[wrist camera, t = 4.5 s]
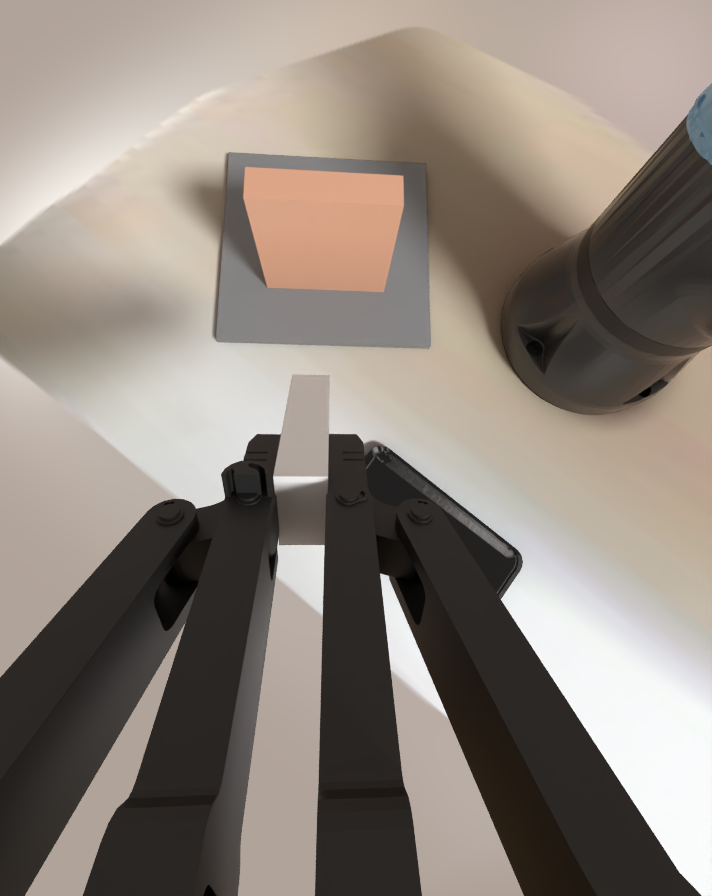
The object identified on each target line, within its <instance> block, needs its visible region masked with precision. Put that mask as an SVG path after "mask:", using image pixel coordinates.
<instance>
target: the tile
mask: <svg viewBox="0 0 712 896" xmlns="http://www.w3.org/2000/svg"><path fill="white" fill-rule="evenodd" d="M243 199H244V202H245V206H246V210H247V213H248V217H249V221H250V225H251V228H252V232H253V236H254V240H255V243H256V247H257V251H258V255H259V258H260V262H261V266H262V270H263V273H264V277H265V281H266V285H267V288H288V289H313V290H339V291H365V292H384V289H385V285H386V281H387V276H388V272H389V268H390V264H391V259H392V255H393V251H394V246H395V242H396V238H397V233H398V229H399V225H400V220H401V216H402V212H403V207H404V184H403V176H400V175H382V174H364V173H346V172H329V171H311V170H293V169H275V168H257V167H245V178H244V194H243Z"/></svg>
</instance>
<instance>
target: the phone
mask: <svg viewBox="0 0 712 896" xmlns="http://www.w3.org/2000/svg"><path fill="white" fill-rule="evenodd" d="M365 464H366V474H367V483H368V489H369V492H370V493H371V495H372V496H373V497H374V498H375V499H376V500H378V501H380V502H382V503H384V504H387V505H391V506H395V507H398V506H399V505H400V504H401V503H402V502H403V501H406V500H409V499H413V498H421V499H425V500H429V501H431V502H433V503H435V504H437V505H438V507H439V508H440V509H441V510H442V511H443V512H444V514H445V515H446V517H447V519H448V520H449V522H450V523H451V525H452V526H453V528H454V529H455V531H456V532H457V534H458V535H459V537H460V538H461V540H462V541H463V543H464V544H465V546H466V548H467V549H468V551H469V552H470V554H471V555H472V557H473V558H474V560H475V561H476V563H477V564H478V566H479V567H480V569H481V570H482V572H483V574H484V575H485V577H486V578H487V580H488V581H489V583H490V584H491V586H492V587H493V589H494V590H495V592H496V593H497V595H498V596H499V598H500V599H501V598H502V597H503V595H504V594H505V592H506V591H507V589H508V588H509V586H510V585H511V583H512V582H513V581H514V579H515V578H516V576H517V575H518V573H519V572H520V570H521V568H522V563H523V561H522V556H521V554H520V553H519V551H518V550H517V549H516V548H514V547H513V546H512V545H510V544H509V543H508V542H507V541H505V540H504V539H503V538H502V537H500V536H499V535H498V534H497V533H495V532H494V531H493V530H491V529H490V528H489V527H488V526H486V525H485V524H484V523H483V522H481V521H480V520H479V519H478V518H476V517H475V516H474V515H472V514H471V513H470V512H469V511H467V510H466V509H465V508H464V507H462V506H461V505H460V504H459V503H457V502H456V501H455V500H454V499H452V498H451V497H450V496H448V495H447V494H446V493H445V492H443V491H442V490H441V489H440V488H438V487H437V486H436V485H435V484H433V483H432V482H431V481H429V480H428V479H427V478H426V477H424V476H423V475H422V474H421V473H419V472H418V471H417V470H416V469H414V468H413V467H412V466H411V465H409V464H408V463H407V462H405V461H404V460H403V459H402V458H400V457H399V456H398V455H397V454H395V453H394V452H393V451H392V450H390V449H389V448H387V447H384V446H377V447H375V448H373V449H371V450H370V451H369V453H368V454H367V455H366V456H365Z"/></svg>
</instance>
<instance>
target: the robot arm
mask: <svg viewBox="0 0 712 896" xmlns="http://www.w3.org/2000/svg"><path fill="white" fill-rule="evenodd" d="M501 330H502V339H503V343H504V347H505V350H506V353H507V356H508V358H509V360H510V362H511V364H512V366H513V368H514V369H515V371H516V373H517V374H518V375H519V377H520V378H521V379H522V380H523V382H524V383H525V384H526V385H527V386H528V387H529V388H530V389H531V390H532V391H533V392H535V393H536V394H537V395H538V396H540V397H541V398H543V399H544V400H546V401H547V402H549V403H551V404H553V405H555V406H557V407H559V408H562V409H564V410H567V411H571V412H575V413H580V414H587V415H601V414H609V413H614V412H617V411H620V410H623V409H625V408H628V407H631V406H633V405H636V404H638V403H641V402H643V401H645V400H647V399H648V398H650V397H652V396H653V395H655V394H656V393H658V392H659V391H660V390H661V389H663V388H664V387H665V386H666V385H667V384H668V383H669V382H670V381H671V380H672V379H673V378H674V377H675V376H676V375H677V374H678V373H679V372H680V371H681V370H682V369H683V368H684V367H685V366H686V365H687V364H688V363H689V362H690V361H691V360H692V359H693V358H694V357H695V356H696V355H697V354H698V353H699V352H700V351H701V350H704V349H706V348H708V347H710V346H712V84H711V85H709V86H708V87H707V88H706V89H705V90H704V91H703V92H702V94H701V95H700V96H699V97H698V98H697V99H696V101H695V104H694V106H693V107H692V109H691V110H690V111H689V114H688V115H687V116H686V117H685V119H684V120H683V121H682V122H681V123H680V124H679V125H678V127H677V128H676V129H675V130H674V131H673V132H672V134H671V135H670V136H669V137H668V138H667V139H666V141H665V142H664V143H663V144H662V145H661V146H660V147H659V149H658V150H657V151H656V152H655V153H654V154H653V155H652V157H651V158H650V159H649V160H648V161H647V162H646V163H645V165H644V166H643V167H642V168H641V169H640V170H639V171H638V173H637V174H636V175H635V176H634V177H633V178H632V180H631V181H630V182H629V183H628V184H627V185H626V186H625V188H624V189H623V190H622V191H621V192H620V193H619V194H618V196H617V197H616V198H615V199H614V200H613V201H612V203H611V204H610V205H609V206H608V207H607V208H606V209H605V210H604V212H603V213H602V214H601V215H600V216H599V218H598V219H597V220H596V221H595V222H594V223H593V224H592V225H591V226H590V227H589V228H587V229H586V230H584V231H582V232H580V233H579V234H577V235H575V236H573V237H571V238H570V239H568V240H566V241H565V242H563V243H561V244H560V245H558V246H556V247H555V248H552V249H550V250H548V251H547V252H545V253H544V254H542V255H541V256H539V257H538V258H537V259H536V260H535V261H533V262H532V263H531V264H530V265H529V266H528V267H527V269H526V270H525V271H524V272H523V274H522V275H521V276H520V277H519V279H518V280H517V281H516V283H515V284H514V285H513V287H512V288H511V290H510V292H509V294H508V296H507V298H506V301H505V304H504V307H503V312H502V319H501ZM329 386H330V375H292V379H291V385H290V390H289V395H288V401H287V406H286V411H285V417H284V422H283V427H282V432H281V435H276V434H257V435H256V436H255V437H254V438H253V439H252V440H251V441H250V442H249V443H248V446H247V450H246V454H245V456H244V461H239V462H236V463H234V464H231V465H230V466H228V467H227V468H225V469H224V471H223V472H222V474H221V476H222V482H223V487H224V493H225V500H224V501H222V502H220V503H217V504H214V505H211V506H207V507H203V508H198V509H196V508H195V506H194V505H193V504H192V503H191V502H189V501H187V500H184V499H171V500H167V501H163V502H161V503H159V504H157V505H155V506H153V507H152V508H151V509H150V510H149V511H147V513H146V514H145V515H144V516H143V517H142V518H141V519H140V520H139V522H138V523H137V524H136V525H135V526H134V527H133V528H132V529H131V531H130V532H129V533H128V534H127V535H126V536H125V537H124V539H123V540H122V541H121V542H120V543H119V544H118V545H117V546H116V548H115V549H114V550H113V551H112V552H111V554H109V555H108V557H107V558H106V559H105V560H104V561H103V562H102V563H101V565H100V566H99V567H98V568H97V569H96V570H95V571H94V572H93V574H92V575H91V576H90V577H89V578H88V579H87V580H86V581H85V583H84V584H83V585H82V586H81V587H80V588H79V589H78V590H77V592H76V593H75V594H74V595H73V596H72V597H71V599H70V600H69V601H68V602H67V603H66V604H65V605H64V606H63V607H62V609H61V610H60V611H59V612H58V613H57V614H56V615H55V616H54V618H53V619H52V620H51V621H50V622H49V623H48V624H47V626H46V627H45V628H44V629H43V630H42V631H41V632H40V633H39V634H38V636H37V637H36V638H35V639H34V640H33V641H32V642H31V644H30V645H29V646H28V647H27V648H26V649H25V651H23V653H22V654H21V655H20V656H19V657H18V658H17V659H16V661H15V662H14V663H13V664H12V665H11V666H10V667H9V668H8V669H7V671H6V672H5V673H4V674H3V675H2V676H1V677H0V896H25V894H26V892H27V891H28V889H29V887H30V886H31V884H32V882H33V881H34V879H35V877H36V875H37V874H38V872H39V870H40V869H41V867H42V865H43V864H44V862H45V860H46V858H47V857H48V855H49V853H50V852H51V850H52V848H53V847H54V844H55V843H56V841H57V840H58V838H59V836H60V835H61V833H62V831H63V830H64V828H65V826H66V824H67V823H68V821H69V819H70V817H71V816H72V814H73V812H74V811H75V809H76V807H77V806H78V804H79V802H80V801H81V799H82V797H83V796H84V794H85V792H86V790H87V789H88V787H89V785H90V784H91V782H92V780H93V778H94V777H95V775H96V773H97V772H98V770H99V768H100V767H101V765H102V763H103V761H104V760H105V758H106V756H107V755H108V753H109V751H110V750H111V748H112V746H113V744H114V743H115V741H116V739H117V738H118V736H119V734H120V732H121V731H122V729H123V727H124V726H125V724H126V722H127V721H128V719H129V717H130V715H131V714H132V712H133V710H134V709H135V707H136V705H137V704H138V702H139V700H140V698H141V697H142V695H143V693H144V692H145V690H146V688H147V686H148V685H149V683H150V681H151V680H152V678H153V676H154V675H155V673H156V671H157V670H158V668H159V666H160V664H161V663H162V661H163V659H164V658H165V656H166V654H167V653H168V651H169V649H170V647H171V646H172V644H173V642H174V641H175V639H176V637H177V635H178V634H179V632H180V630H181V629H182V627H183V625H184V624H185V622H186V624H185V627H184V630H183V633H182V636H181V640H180V643H179V646H178V649H177V652H176V655H175V659H174V662H173V665H172V668H171V671H170V674H169V677H168V681H167V684H166V687H165V690H164V693H163V697H162V700H161V703H160V706H159V710H158V712H157V716H156V719H155V722H154V725H153V729H152V732H151V735H150V738H149V741H148V744H147V747H146V751H145V754H144V757H143V760H142V763H141V767H140V770H139V773H138V776H137V779H136V782H135V785H134V787H133V790H132V792H131V794H130V796H129V798H128V799H127V800H126V801H125V802H124V803H123V804H122V805H121V806H119V807H118V808H117V810H116V811H115V813H114V815H113V816H112V818H111V820H110V822H109V823H108V826H107V829H106V831H105V834H104V836H103V838H102V841H101V843H100V846H99V849H98V852H97V855H96V858H95V862H94V864H93V868H92V870H91V873H90V876H89V879H88V882H87V885H86V888H85V891H84V894H83V896H238V886H239V875H240V844H241V832H242V824H243V817H244V809H245V801H246V794H247V787H248V780H249V772H250V764H251V757H252V749H253V742H254V735H255V727H256V719H257V712H258V705H259V697H260V690H261V682H262V675H263V668H264V660H265V653H266V645H267V638H268V630H269V623H270V615H271V607H272V601H273V593H274V586H275V578H276V571H277V563H278V553H277V544H278V537H279V545H325V556H324V596H323V636H322V637H323V638H322V675H321V717H320V718H321V719H320V756H319V789H318V791H319V792H318V812H317V844H316V882H315V883H316V884H315V896H422V893H421V885H420V876H419V868H418V860H417V851H416V843H415V835H414V827H413V819H412V812H411V807H410V802H409V797H408V794H407V792H406V790H405V787H404V783H403V777H402V771H401V761H400V752H399V743H398V734H397V724H396V716H395V707H394V698H393V688H392V679H391V670H390V661H389V651H388V642H387V633H386V624H385V615H384V606H383V597H382V588H381V579H380V573H381V574H385V575H388V576H389V579H390V582H391V584H392V586H393V589H394V591H395V593H396V596H397V598H398V600H399V603H400V605H401V608H402V610H403V612H404V615H405V617H406V619H407V622H408V624H409V626H410V629H411V631H412V633H413V636H414V638H415V640H416V643H417V645H418V647H419V650H420V652H421V655H422V657H423V659H424V662H425V664H426V666H427V669H428V671H429V673H430V676H431V678H432V680H433V683H434V685H435V687H436V690H437V692H438V695H439V697H440V699H441V702H442V704H443V706H444V709H445V711H446V713H447V716H448V718H449V720H450V723H451V725H452V727H453V730H454V732H455V734H456V737H457V739H458V742H459V744H460V746H461V748H462V751H463V753H464V756H465V758H466V760H467V762H468V765H469V767H470V770H471V772H472V774H473V777H474V779H475V781H476V784H477V786H478V789H479V791H480V793H481V796H482V798H483V800H484V803H485V805H486V807H487V809H488V812H489V814H490V817H491V819H492V821H493V824H494V826H495V829H496V831H497V833H498V835H499V838H500V840H501V843H502V845H503V847H504V850H505V852H506V854H507V857H508V859H509V861H510V864H511V866H512V868H513V871H514V873H515V876H516V878H517V880H518V883H519V885H520V887H521V890H522V892H523V894H524V896H701V895H700V894H699V893H698V891H697V890H696V889H695V888H694V887H693V886H692V885H691V884H690V883H689V882H688V881H687V880H686V879H685V878H684V877H683V876H682V875H681V874H680V873H679V871H678V870H677V868H676V867H675V865H674V864H673V862H672V861H671V859H670V858H669V856H668V855H667V853H666V851H665V850H664V848H663V847H662V845H661V844H660V842H659V841H658V839H657V838H656V836H655V835H654V833H653V832H652V830H651V829H650V827H649V825H648V824H647V822H646V821H645V819H644V818H643V816H642V815H641V813H640V812H639V810H638V809H637V807H636V806H635V804H634V803H633V801H632V800H631V798H630V796H629V795H628V793H627V792H626V790H625V789H624V787H623V786H622V784H621V783H620V781H619V780H618V778H617V777H616V775H615V774H614V772H613V771H612V769H611V767H610V766H609V764H608V763H607V761H606V760H605V758H604V757H603V755H602V754H601V752H600V751H599V749H598V748H597V746H596V745H595V743H594V742H593V740H592V738H591V737H590V735H589V734H588V732H587V731H586V729H585V728H584V726H583V725H582V723H581V722H580V720H579V719H578V717H577V716H576V714H575V712H574V711H573V709H572V708H571V706H570V705H569V703H568V702H567V700H566V699H565V697H564V696H563V694H562V693H561V691H560V690H559V688H558V687H557V685H556V683H555V682H554V680H553V679H552V677H551V676H550V674H549V673H548V671H547V670H546V668H545V667H544V665H543V664H542V662H541V661H540V659H539V658H538V656H537V654H536V653H535V651H534V650H533V648H532V647H531V645H530V644H529V642H528V641H527V639H526V638H525V636H524V635H523V633H522V632H521V630H520V628H519V627H518V625H517V624H516V622H515V621H514V619H513V618H512V616H511V615H510V613H509V612H508V610H507V609H506V607H505V606H504V604H503V603H502V601H501V599H500V598H499V596H498V595H497V593H496V592H495V590H494V589H493V587H492V586H491V584H490V583H489V581H488V580H487V578H486V577H485V575H484V574H483V572H482V570H481V569H480V567H479V566H478V564H477V563H476V561H475V560H474V558H473V557H472V555H471V554H470V552H469V551H468V549H467V548H466V546H465V544H464V543H463V541H462V540H461V538H460V537H459V535H458V534H457V532H456V531H455V529H454V528H453V526H452V525H451V523H450V522H449V520H448V519H447V517H446V515H445V514H444V512H443V511H442V510H441V509H440V508H439V507H438V505H437V504H435V503H433V502H431V501H429V500H425V499H421V498H413V499H409V500H406V501H403V502H402V503H401V504H400V505H399V506H398V507H395V506H391V505H387V504H384V503H382V502H380V501H378V500H376V499H375V498H374V497H373V496H372V495H371V493H370V492H369V489H368V483H367V474H366V464H365V455H364V446H363V442H362V441H361V439H360V438H359V437H358V436H357V434H329Z"/></svg>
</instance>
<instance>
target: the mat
mask: <svg viewBox="0 0 712 896" xmlns="http://www.w3.org/2000/svg"><path fill="white" fill-rule="evenodd" d="M245 167H257V168H275V169H293V170H311V171H329V172H346V173H364V174H382V175H400V176H403V184H404V207H403V212H402V216H401V220H400V225H399V229H398V233H397V238H396V242H395V246H394V251H393V255H392V259H391V264H390V268H389V272H388V276H387V281H386V285H385V289H384V292H365V291H339V290H313V289H288V288H267V285H266V281H265V277H264V273H263V270H262V266H261V262H260V258H259V255H258V251H257V247H256V243H255V240H254V236H253V232H252V228H251V225H250V221H249V217H248V213H247V210H246V206H245V202H244V199H243V194H244V178H245ZM216 340H217V342H234V343H266V344H298V345H330V346H362V347H394V348H426V349H429V348H430V346H431V336H430V300H429V263H428V227H427V191H426V164H423V163H406V162H388V161H371V160H353V159H336V158H319V157H301V156H284V155H267V154H249V153H232V152H229V160H228V174H227V188H226V202H225V216H224V230H223V245H222V259H221V273H220V287H219V301H218V315H217V330H216Z"/></svg>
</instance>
